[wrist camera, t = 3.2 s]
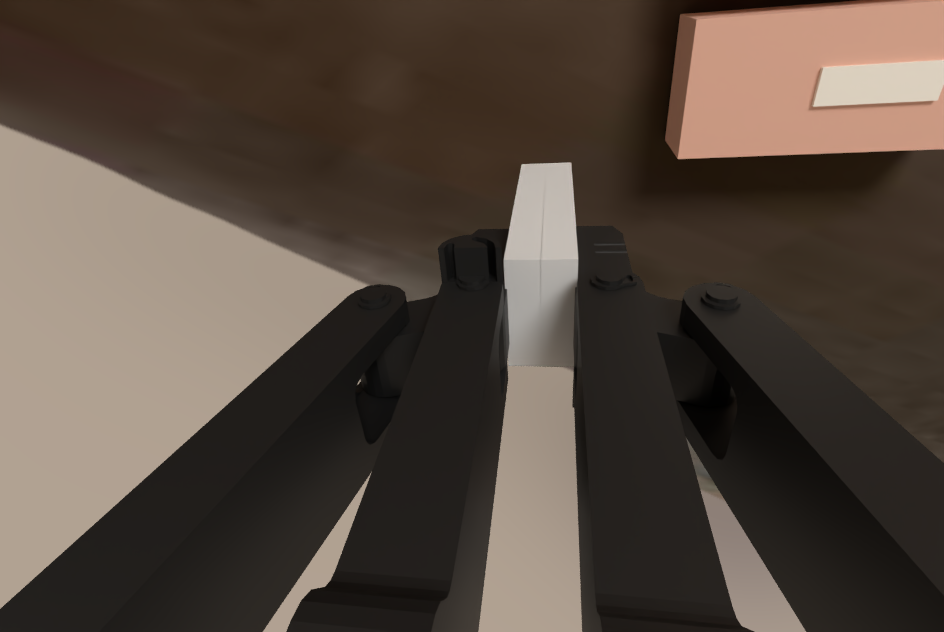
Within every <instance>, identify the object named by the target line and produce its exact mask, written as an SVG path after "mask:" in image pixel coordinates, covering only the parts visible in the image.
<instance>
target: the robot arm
mask: <svg viewBox="0 0 944 632" xmlns="http://www.w3.org/2000/svg"><path fill="white" fill-rule="evenodd" d="M438 252H439V261H440V269H441V277H442V285H441V287H440V290H439V293H438V295H435V296H433V297H430V298H426V299H421V300H415V301H409V302H407V301H406V296H405V292H404V291H403V290H401V289H400V288H398V287H395V286H391V285H380V284H379V285H374V286H373V285H371V286H367V287H365V288H363V289H360V290H357V291H355V292H354V293H352V294H351V295H349V296H348V297H347V298H346V299H345V300H343V301H342V302H341V303H340V304H339V305H338V306H337V307H336V308H334V309H333V310H332V311H331V312H330V313H329V314H328V315H327V316H326V317H324V318H323V319H322V320H321V321H320V322H319V323H318V324H317V325H316V326H314V327H313V328H312V329H311V330H310V331H309V332H308V333H307V334H305V335H304V336H303V337H302V338H301V339H300V340H299V341H298V342H297V343H296V344H295V345H293V346H292V347H291V348H290V349H289V350H288V351H287V352H285V353H284V354H283V355H282V356H281V357H280V358H279V359H278V360H277V361H276V362H275V363H273V364H272V365H271V366H270V367H269V368H268V369H267V370H266V371H265V372H263V373H262V374H261V375H260V376H259V377H258V378H257V379H255V380H254V381H253V382H252V383H251V384H250V385H249V386H248V387H247V388H246V389H244V390H243V391H242V392H241V393H240V394H239V395H238V396H237V397H235V398H234V399H233V400H232V401H231V402H230V403H229V404H228V405H227V406H225V407H224V408H223V409H222V410H221V411H220V412H219V413H218V414H217V415H215V416H214V417H213V418H212V419H211V420H210V421H209V422H208V423H207V424H206V425H205V426H203V427H202V428H201V429H200V430H199V431H198V432H197V433H195V434H194V435H193V436H192V437H191V438H190V439H189V440H188V441H187V442H185V443H184V444H183V445H182V446H181V447H180V448H179V449H178V450H176V451H175V452H174V453H173V454H172V455H171V456H170V457H169V458H168V459H167V460H165V461H164V462H163V463H162V464H161V465H160V466H159V467H158V468H156V470H154V471H153V472H152V473H151V474H150V475H149V476H148V477H146V478H145V479H144V480H143V481H142V482H141V483H140V484H139V485H138V486H137V487H135V488H134V489H133V490H132V491H131V492H130V493H129V494H128V495H126V496H125V497H124V498H123V499H122V500H121V501H120V502H119V503H118V504H117V505H115V506H114V507H113V508H112V509H111V510H110V511H109V512H108V513H106V514H105V515H104V516H103V517H102V518H101V519H100V520H99V521H98V522H96V523H95V524H94V525H93V526H92V527H91V528H90V529H89V530H88V531H86V532H85V533H84V534H83V535H82V536H81V537H80V538H79V539H78V540H76V541H75V542H74V543H73V544H72V545H71V546H70V547H69V548H67V550H65V551H64V552H63V553H62V554H61V555H60V556H59V557H57V558H56V559H55V560H54V561H53V562H52V563H51V564H50V565H49V566H48V567H46V568H45V569H44V570H43V571H42V572H41V573H40V574H39V575H37V576H36V577H35V578H34V579H33V580H32V581H31V582H30V583H29V584H28V585H26V586H25V587H24V588H23V589H22V590H21V591H20V592H19V593H17V594H16V595H15V596H14V597H13V598H12V599H11V600H10V601H9V602H7V603H6V604H5V605H4V606H3V607H2V608H1V609H0V632H263V630H264V629H265V627H266V626H267V624H268V623H269V621H270V620H271V618H272V617H273V616H274V614H275V613H276V611H277V609H278V608H279V607H280V605H281V604H282V602H283V601H284V599H285V598H286V596H287V595H288V594H289V592H290V591H291V589H292V588H293V586H294V585H295V583H296V582H297V580H298V579H299V578H300V576H301V575H302V573H303V572H304V570H305V569H306V567H307V566H308V564H309V563H310V561H311V560H312V558H313V557H314V556H315V554H316V553H317V551H318V549H319V548H320V547H321V545H322V544H323V542H324V540H325V539H326V538H327V536H328V535H329V534H330V532H331V531H332V529H333V528H334V526H335V525H336V523H337V522H338V520H339V519H340V517H341V516H342V514H343V513H344V512H345V510H346V509H347V507H348V506H349V504H350V503H351V501H352V500H353V498H354V497H355V495H356V494H357V492H358V491H359V489H360V488H361V487H362V485H363V484H364V482H365V481H366V479H367V478H368V476H369V475H370V473H371V472H372V473H371V476H370V478H369V481H368V484H367V487H366V489H365V492H364V495H363V498H362V500H361V503H360V505H359V508H358V511H357V514H356V516H355V519H354V521H353V524H352V527H351V530H350V532H349V535H348V538H347V541H346V543H345V546H344V548H343V551H342V554H341V556H340V559H339V562H338V565H337V568H336V570H335V572H334V574H333V577H332V579H331V581H330V582H329V583H328V584H327V585H326V586H325V587H322V588H317V589H313V590H311V591H310V592H309V593H308V594H307V595H306V596H305V597H304V598H303V599H302V600H301V602H300V604H299V606H298V608H297V610H296V612H295V614H294V616H293V618H292V619H291V622H290V624H289V626H288V629H287V632H478V629H479V620H480V612H481V603H482V595H483V587H484V578H485V569H486V561H487V552H488V544H489V536H490V527H491V519H492V510H493V502H494V494H495V485H496V477H497V468H498V460H499V452H500V451H499V450H500V443H501V435H502V426H503V418H504V409H505V401H506V392H507V384H508V371H507V358H508V361H509V366H543V367H546V366H547V367H574V380H573V407H574V409H575V439H576V466H577V495H578V522H579V523H578V524H579V551H580V552H579V553H580V579H581V609H582V632H754V631H751V630H749V629H747V628H745V627H742V626H741V625H740V623H739V622H738V620H737V618H736V615H735V612H734V610H733V607H732V603H731V600H730V596H729V593H728V589H727V586H726V582H725V578H724V575H723V571H722V567H721V564H720V561H719V556H718V553H717V549H716V546H715V542H714V538H713V534H712V531H711V527H710V524H709V520H708V517H707V513H706V509H705V505H704V502H703V498H702V495H701V491H700V487H699V484H698V480H697V476H696V473H695V469H694V465H693V462H692V458H691V455H690V451H689V447H688V444H687V440H686V438H687V439H688V441H689V443H690V444H691V446H692V448H693V449H694V451H695V452H696V454H697V456H698V457H699V459H700V460H701V462H702V464H703V465H704V467H705V469H706V470H707V472H708V473H709V475H710V477H711V478H712V480H713V481H714V483H715V485H716V486H717V488H718V490H719V491H720V493H721V494H722V496H723V498H724V499H725V501H726V503H727V504H728V506H729V507H730V509H731V511H732V512H733V514H734V515H735V517H736V519H737V520H738V522H739V524H740V525H741V527H742V528H743V530H744V532H745V533H746V535H747V536H748V538H749V540H750V541H751V543H752V545H753V546H754V548H755V549H756V551H757V553H758V554H759V556H760V557H761V559H762V560H763V562H764V564H765V565H766V567H767V569H768V570H769V572H770V574H771V575H772V577H773V579H774V580H775V582H776V583H777V585H778V587H779V588H780V590H781V591H782V593H783V594H784V596H785V598H786V600H787V601H788V603H789V604H790V606H791V608H792V609H793V611H794V612H795V614H796V616H797V617H798V619H799V621H800V622H801V624H802V625H803V627H804V628H805V630H806V632H944V463H943V462H942V461H941V460H940V459H938V458H937V457H936V456H935V455H934V454H933V453H932V452H930V451H929V450H928V449H927V448H926V447H925V446H924V445H923V444H921V443H920V442H919V441H918V440H917V439H916V438H915V437H914V436H912V435H911V434H910V433H909V432H908V431H907V430H906V429H904V428H903V427H902V426H901V425H900V424H899V423H898V422H897V421H895V420H894V419H893V418H892V417H891V416H890V415H889V414H888V413H886V412H885V411H884V410H883V409H882V408H881V407H880V406H879V405H877V404H876V403H875V402H874V401H873V400H872V399H871V398H869V397H868V396H867V395H866V394H865V393H864V392H863V391H862V390H860V389H859V388H858V387H857V386H856V385H855V384H854V383H853V382H851V381H850V380H849V379H848V378H847V377H846V376H845V375H843V374H842V373H841V372H840V371H839V370H838V369H837V368H836V367H834V366H833V365H832V364H831V363H830V362H829V361H828V360H827V359H825V358H824V357H823V356H822V355H821V354H820V353H819V352H817V351H816V350H815V349H814V348H813V347H812V346H811V345H810V344H808V343H807V342H806V341H805V340H804V339H803V338H802V337H801V336H799V335H798V334H797V333H796V332H795V331H794V330H793V329H792V328H790V327H789V326H788V325H787V324H786V323H785V322H784V321H782V320H781V319H780V318H779V317H778V316H777V315H776V314H775V313H773V312H772V311H771V310H770V309H769V308H768V307H767V306H766V305H764V304H763V303H762V302H761V301H760V300H759V299H758V298H756V297H755V296H754V295H752V294H751V293H749V292H748V291H746V290H744V289H741V288H738V287H735V286H733V285H731V284H726V283H725V284H723V283H717V282H716V283H703V284H699V285H695V286H692V287H690V288H689V289H687V290H686V291H685V293H684V296H683V301H678V300H672V299H667V298H663V297H658V296H655V295H653V294H650V293H648V292H646V291H645V288H644V284H643V282H642V280H641V279H640V277H639V276H637V275H636V274H634V273H632V269H631V265H630V261H629V257H628V253H627V250H626V246H625V242H624V238H623V234H622V233H621V232H620V231H618V230H617V229H616V228H614V227H613V226H576V221H575V208H574V195H573V181H572V168H571V163H546V164H522V166H521V171H520V176H519V182H518V187H517V192H516V197H515V203H514V208H513V213H512V218H511V224H510V229H480V230H477V231H476V232H475V233H473V234H472V235H464V236H459V237H455V238H451V239H449V240H447V241H445V242H443V243H442V244H441V245H440V246H439V247H438ZM360 379H361V382H360V383H359V384H358V386H357V383H358V381H359V380H360Z"/></svg>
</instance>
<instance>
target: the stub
mask: <svg viewBox="0 0 944 632" xmlns="http://www.w3.org/2000/svg"><path fill="white" fill-rule="evenodd" d="M665 141H666V142H667V144H668V145H669V147H670V148H671V150H672V151H673V153H674V154H675V156H676V157H677V159H694V158H721V157H747V156H773V155H800V154H826V153H853V152H879V151H905V150H932V149H944V0H856V1H843V2H830V3H817V4H804V5H791V6H779V7H766V8H753V9H740V10H727V11H714V12H701V13H688V14H680V20H679V28H678V36H677V45H676V53H675V61H674V69H673V78H672V86H671V94H670V103H669V111H668V119H667V128H666V136H665Z"/></svg>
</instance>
